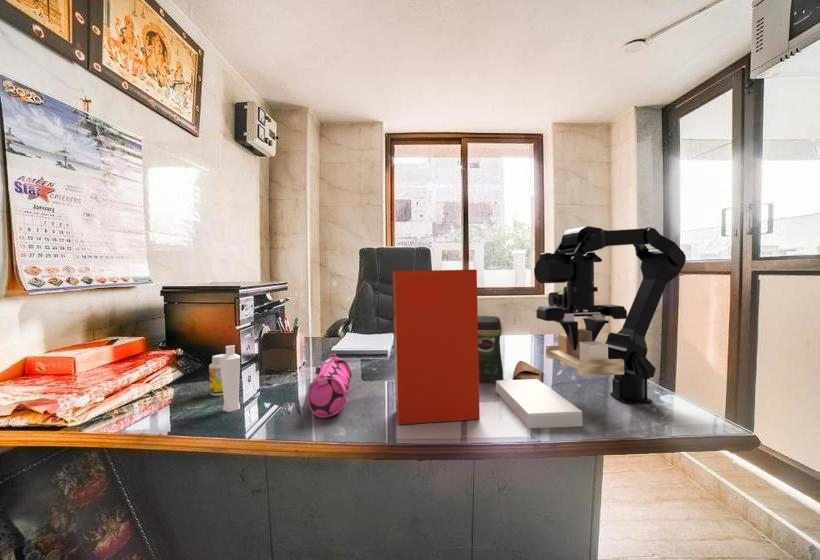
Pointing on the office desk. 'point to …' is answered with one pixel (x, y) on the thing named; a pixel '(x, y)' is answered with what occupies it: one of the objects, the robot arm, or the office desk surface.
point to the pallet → (585, 365)
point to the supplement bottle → (215, 376)
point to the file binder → (436, 345)
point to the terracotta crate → (563, 343)
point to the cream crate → (593, 350)
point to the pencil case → (329, 387)
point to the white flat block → (538, 404)
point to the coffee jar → (489, 349)
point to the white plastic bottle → (230, 379)
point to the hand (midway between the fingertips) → (581, 349)
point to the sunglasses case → (526, 372)
